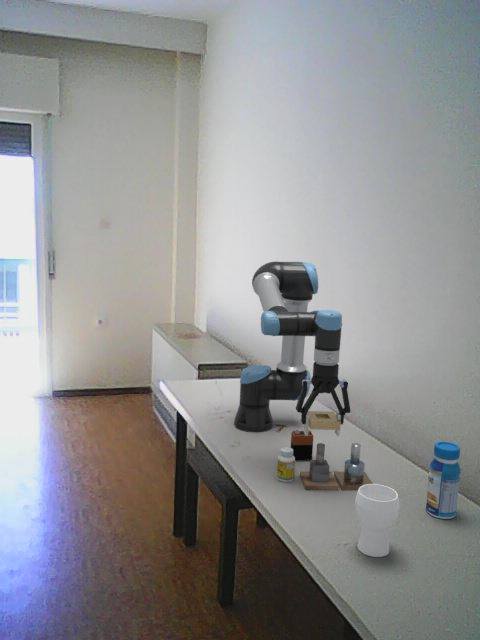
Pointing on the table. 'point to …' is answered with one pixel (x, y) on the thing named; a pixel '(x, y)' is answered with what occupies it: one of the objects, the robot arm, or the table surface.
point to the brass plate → (323, 420)
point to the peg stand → (353, 471)
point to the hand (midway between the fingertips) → (321, 434)
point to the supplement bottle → (286, 465)
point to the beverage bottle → (444, 481)
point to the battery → (302, 445)
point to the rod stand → (319, 473)
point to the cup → (376, 517)
